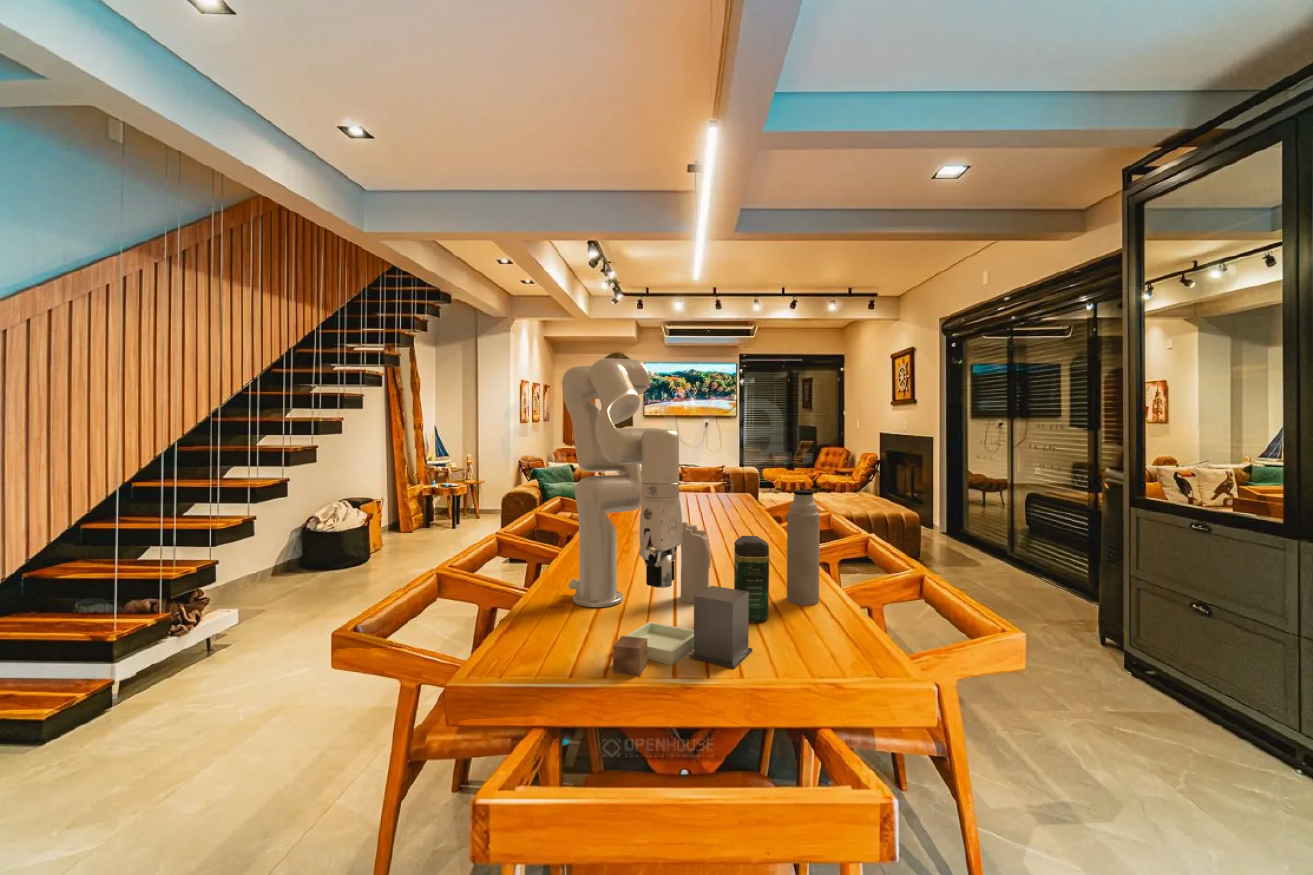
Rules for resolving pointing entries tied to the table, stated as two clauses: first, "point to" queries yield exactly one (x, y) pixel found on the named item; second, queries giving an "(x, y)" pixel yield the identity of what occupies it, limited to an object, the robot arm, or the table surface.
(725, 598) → the block
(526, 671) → the table surface
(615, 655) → the walnut block
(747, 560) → the coffee jar
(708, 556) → the grey jagged upright block
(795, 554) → the thermos bottle
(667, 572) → the grey cylinder
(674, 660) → the tray
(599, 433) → the robot arm
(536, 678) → the table surface
